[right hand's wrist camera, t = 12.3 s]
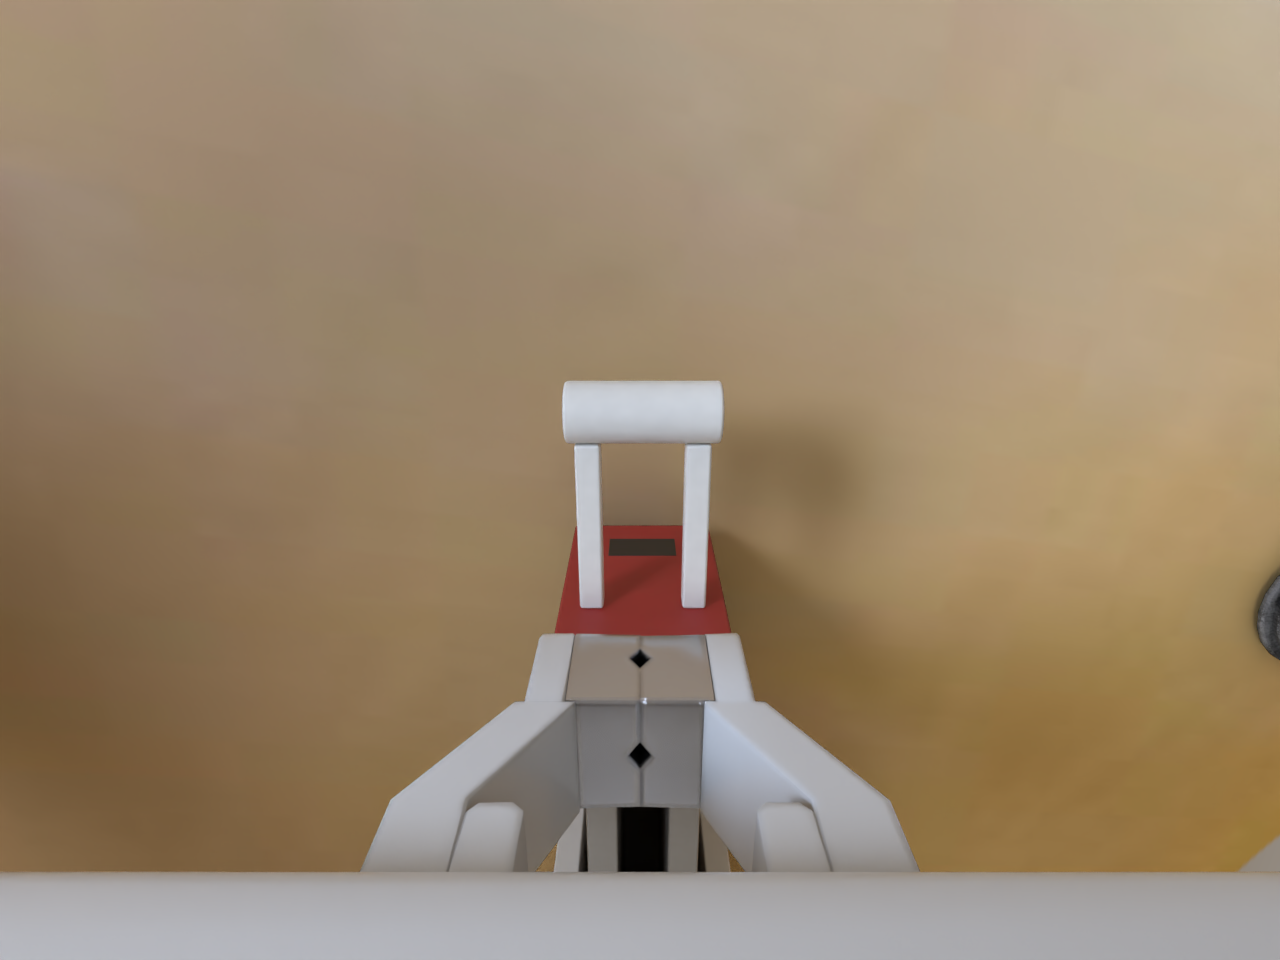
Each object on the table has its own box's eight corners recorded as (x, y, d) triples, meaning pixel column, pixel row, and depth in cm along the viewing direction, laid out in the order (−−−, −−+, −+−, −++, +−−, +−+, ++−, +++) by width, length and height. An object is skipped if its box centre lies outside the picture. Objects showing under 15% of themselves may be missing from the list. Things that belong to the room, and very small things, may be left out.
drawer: (568, 343, 20) (534, 410, 13) (715, 343, 20) (753, 410, 13) (589, 888, 28) (573, 1099, 22) (693, 888, 28) (710, 1099, 22)
